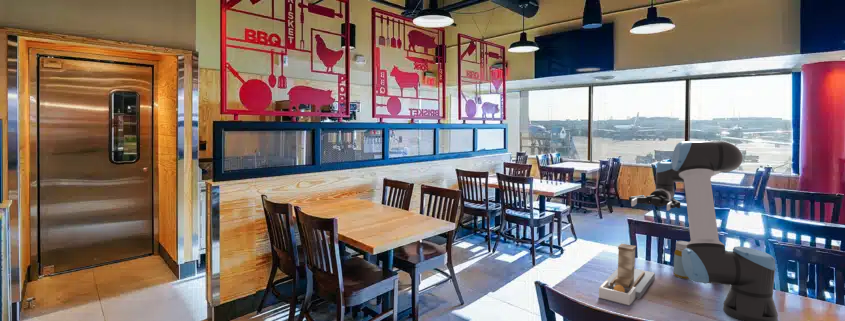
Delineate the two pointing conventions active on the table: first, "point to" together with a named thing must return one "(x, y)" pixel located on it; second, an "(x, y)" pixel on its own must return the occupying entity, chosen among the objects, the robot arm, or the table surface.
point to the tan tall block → (625, 265)
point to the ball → (619, 288)
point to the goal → (616, 295)
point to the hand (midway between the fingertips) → (649, 205)
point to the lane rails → (633, 283)
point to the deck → (640, 287)
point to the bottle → (679, 260)
